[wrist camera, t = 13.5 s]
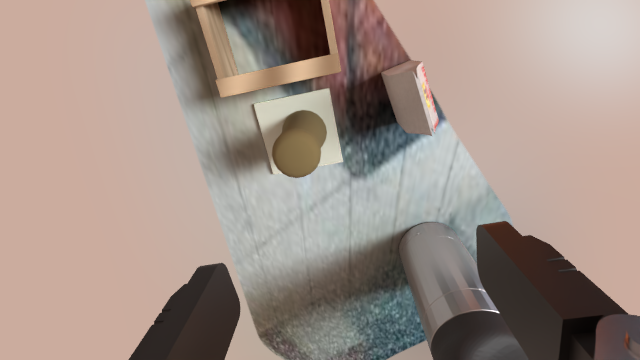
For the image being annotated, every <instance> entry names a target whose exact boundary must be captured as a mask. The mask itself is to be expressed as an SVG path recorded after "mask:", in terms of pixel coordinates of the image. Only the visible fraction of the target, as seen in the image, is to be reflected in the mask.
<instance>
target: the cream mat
mask: <svg viewBox="0 0 640 360" xmlns="http://www.w3.org/2000/svg"><path fill="white" fill-rule="evenodd" d="M254 108H255V111H256V115H257V118H258V122H259V125H260V129H261V133H262V136H263V140H264V143H265V147H266V150H267V154H268V158H269V161H270V165H271V168H272V172H273V175H274V174H279V173H282V172H281V171H280V170H278V169H277V167H276V165H275V164H274V161H273V157H272V147H273V145H274V142H275V140H276V139H277V138H278V137H279V135H280V134H281V133H282V127H283V124H284V122H285V120H286V118H287V117H288V116H289V115H290V114H292V113H294V112H296V111H300V110H308V111H312V112H314V113H316V114H318V115H319V116H320V117H321V118H322V119H323V121H324V123H325V125H326V130H327V136H326V140H325V142H324V144H323V146H322V147H321V158H320V162H319V164H318V166H323V165H329V164H334V163H340V162H343V159H342V154H341V148H340V143H339V138H338V133H337V127H336V122H335V117H334V111H333V106H332V101H331V95H330V90H329V88H326V89H321V90H316V91H311V92H307V93H302V94H297V95H292V96H288V97H283V98H278V99H273V100H269V101H264V102H259V103H255V104H254ZM318 166H317V167H318Z"/></svg>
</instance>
